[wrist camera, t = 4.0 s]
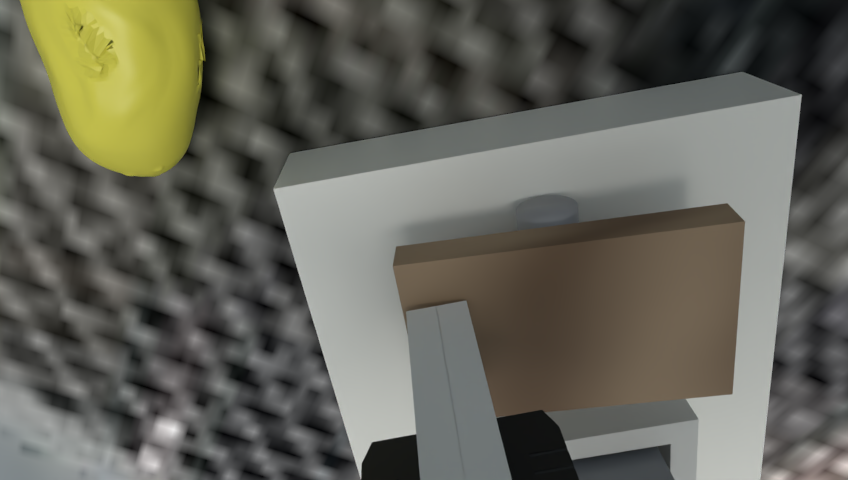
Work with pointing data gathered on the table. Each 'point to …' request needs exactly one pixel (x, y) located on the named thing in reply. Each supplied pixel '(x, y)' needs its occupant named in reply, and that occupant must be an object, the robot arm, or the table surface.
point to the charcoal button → (624, 466)
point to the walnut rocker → (593, 306)
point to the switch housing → (542, 207)
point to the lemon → (123, 76)
